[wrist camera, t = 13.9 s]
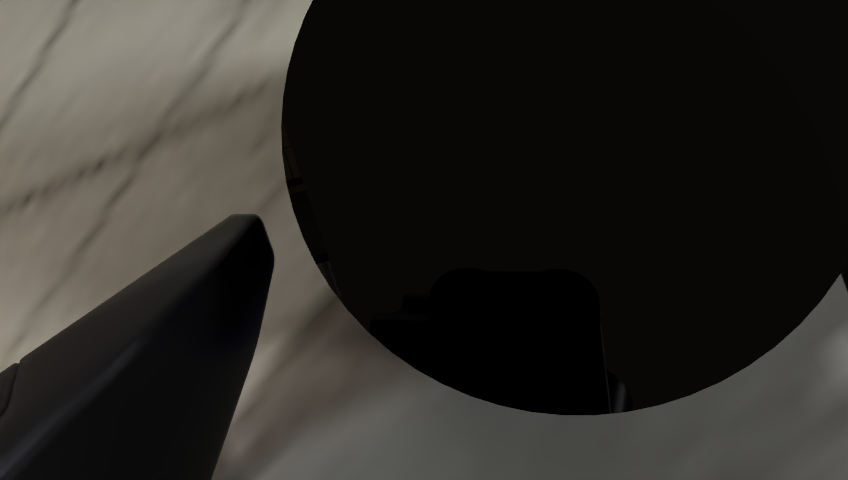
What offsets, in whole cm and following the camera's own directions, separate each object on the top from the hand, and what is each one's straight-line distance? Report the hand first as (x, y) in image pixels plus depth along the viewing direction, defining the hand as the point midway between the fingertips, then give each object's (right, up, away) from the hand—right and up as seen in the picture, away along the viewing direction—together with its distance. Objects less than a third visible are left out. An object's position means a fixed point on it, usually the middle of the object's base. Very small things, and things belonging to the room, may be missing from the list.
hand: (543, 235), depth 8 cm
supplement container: (+1, +1, +9) cm, 9 cm away
